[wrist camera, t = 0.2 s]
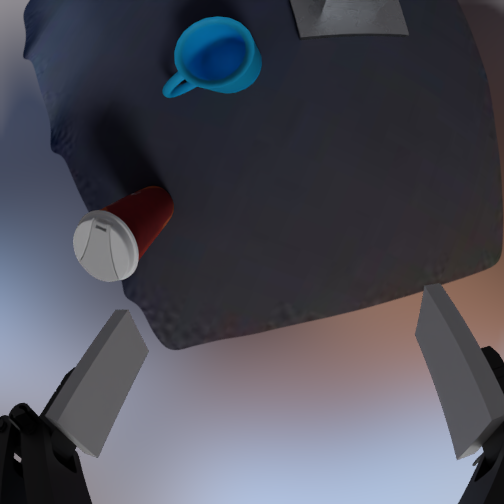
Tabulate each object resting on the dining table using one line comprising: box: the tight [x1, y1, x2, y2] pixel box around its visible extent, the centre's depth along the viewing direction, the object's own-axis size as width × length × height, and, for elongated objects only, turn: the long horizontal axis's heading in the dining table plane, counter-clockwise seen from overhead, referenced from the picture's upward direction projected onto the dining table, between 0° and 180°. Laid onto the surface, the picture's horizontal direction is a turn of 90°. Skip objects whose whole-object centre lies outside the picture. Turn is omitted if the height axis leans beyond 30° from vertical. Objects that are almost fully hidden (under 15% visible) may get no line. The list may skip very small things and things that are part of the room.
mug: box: [162, 16, 262, 98], centre depth 28 cm, size 12×8×8 cm
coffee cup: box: [73, 186, 174, 282], centre depth 34 cm, size 8×8×15 cm
